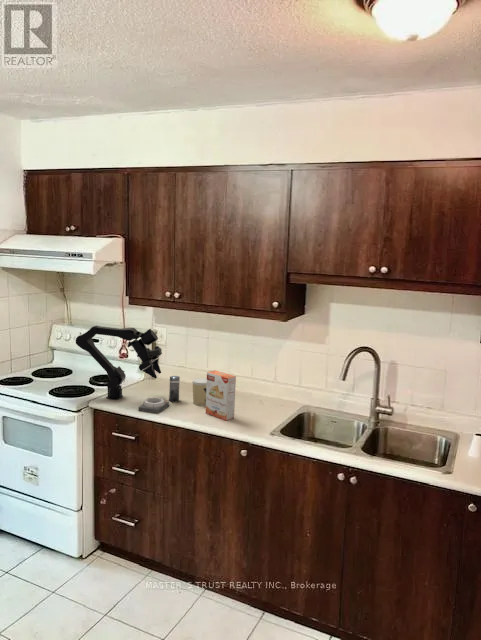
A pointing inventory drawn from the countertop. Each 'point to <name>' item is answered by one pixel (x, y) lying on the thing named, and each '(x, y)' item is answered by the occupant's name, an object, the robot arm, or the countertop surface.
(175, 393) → the lens
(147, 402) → the camera body
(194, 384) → the coffee cup
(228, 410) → the cracker box
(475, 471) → the countertop surface
